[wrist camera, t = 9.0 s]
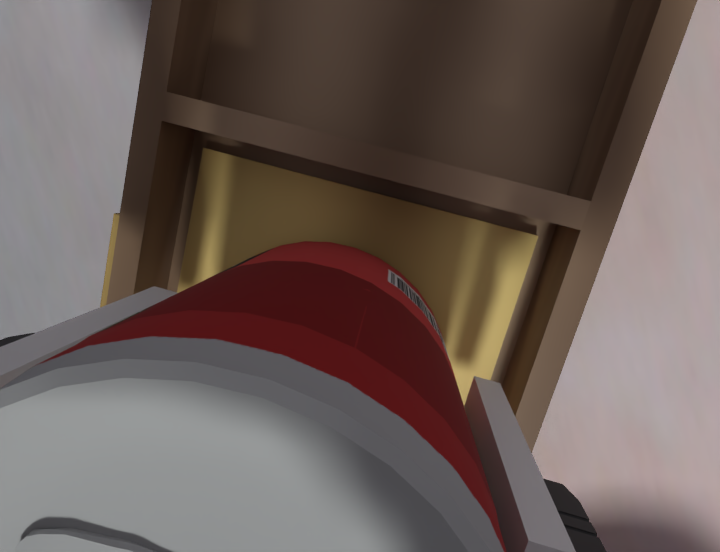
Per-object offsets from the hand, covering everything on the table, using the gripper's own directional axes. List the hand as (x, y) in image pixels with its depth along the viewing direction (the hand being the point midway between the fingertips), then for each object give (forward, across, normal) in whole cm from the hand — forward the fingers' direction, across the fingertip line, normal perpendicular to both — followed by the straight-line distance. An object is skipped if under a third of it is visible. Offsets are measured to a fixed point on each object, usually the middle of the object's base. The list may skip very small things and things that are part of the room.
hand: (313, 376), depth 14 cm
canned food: (+2, 0, 0) cm, 2 cm away
